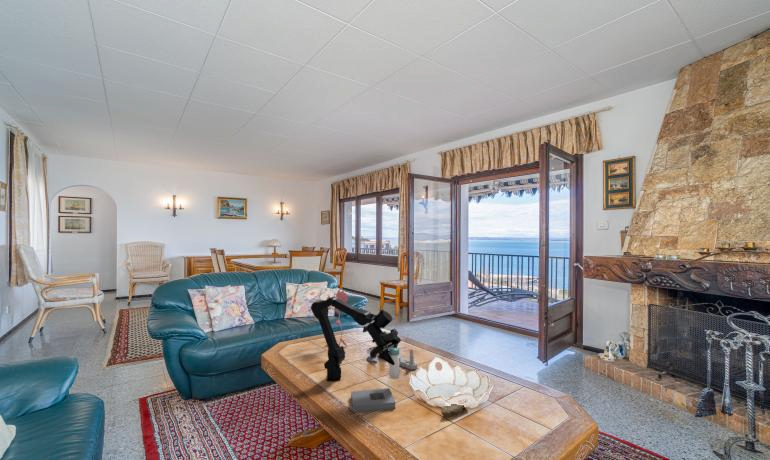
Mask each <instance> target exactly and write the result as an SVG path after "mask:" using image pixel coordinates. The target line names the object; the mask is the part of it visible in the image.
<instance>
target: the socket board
mask: <svg viewBox="0 0 770 460" xmlns="http://www.w3.org/2000/svg"><path fill="white" fill-rule="evenodd" d="M350 393H351V394H350V395H351V396H350V397H351V402H352V408H353V412H354V413H360V412H361V413H363V412H372V411H373V412H374V411H383V410H392V409H396V401H395V398H394V396H393V394H392V391H391V389H390V388H389V387H388V388H387V387H386V388H376V389H368V390H367V389H365V390H355V391H353V390H351V392H350Z"/></svg>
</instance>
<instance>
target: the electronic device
mask: <svg viewBox="0 0 770 460" xmlns="http://www.w3.org/2000/svg"><path fill="white" fill-rule="evenodd" d="M399 357H400V362H399V366H401V367H403V368H405V369H407V370H410V371H411V370H416V369H417V368H418V363H417V362H416V361H414V359H415V358H414V349H412V348H411V349H409V359H408V358H405V357H401V356H399Z"/></svg>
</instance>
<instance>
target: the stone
mask: <svg viewBox="0 0 770 460" xmlns="http://www.w3.org/2000/svg"><path fill="white" fill-rule="evenodd" d="M464 408H465V407H464V405H457V404H451V406H444V405H443V407H442V409H441V415H442V416H443V418H444V419H447V418H449V417H451V416H453V415H454V414H458V415H459V414H460V413H461V412H462V411H464ZM465 409H466V408H465Z"/></svg>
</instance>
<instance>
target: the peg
mask: <svg viewBox="0 0 770 460" xmlns="http://www.w3.org/2000/svg"><path fill="white" fill-rule="evenodd" d="M388 351H389V354H390V356H391V358H392V359H393V361H394V363H395V364H394V365H392V364H390V363H389V365H388V366H389V367H388V369H389V370H388V371H389V373H388V374H389V376H388V377H389V379H391V380H392V379H393V380H397V379H399V378H400V365H399V357H400V348H399V347H397V348H390V349H388Z"/></svg>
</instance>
